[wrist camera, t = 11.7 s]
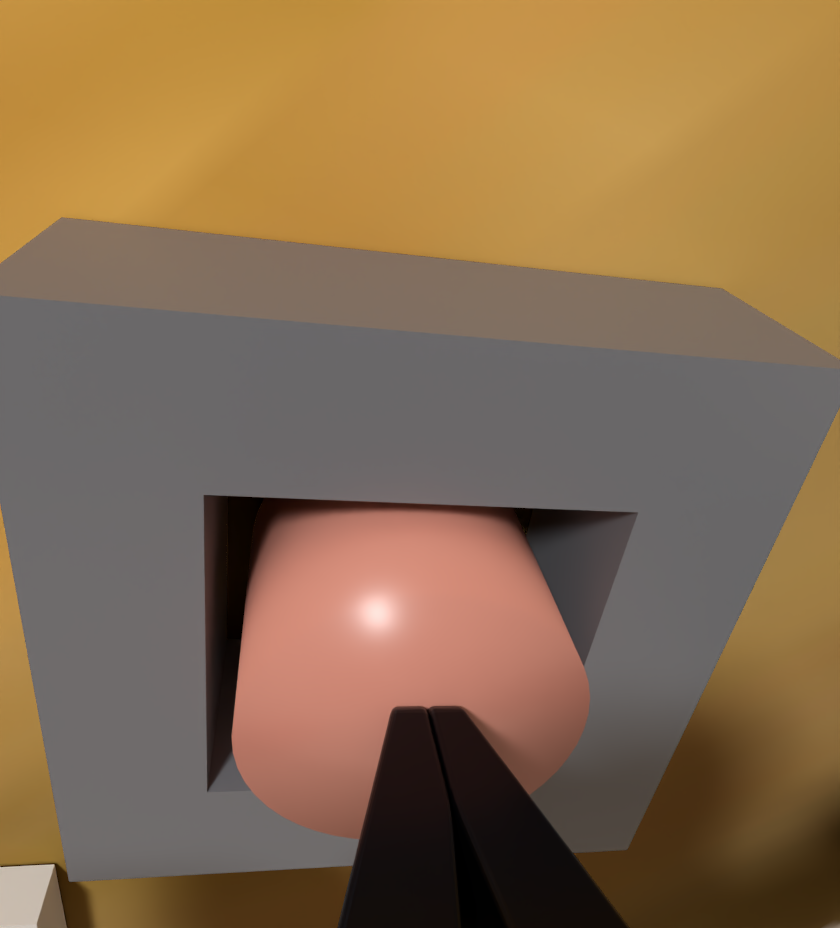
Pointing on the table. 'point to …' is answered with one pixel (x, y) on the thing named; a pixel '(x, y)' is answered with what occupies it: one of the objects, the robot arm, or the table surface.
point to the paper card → (30, 897)
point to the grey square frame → (367, 496)
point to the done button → (393, 648)
